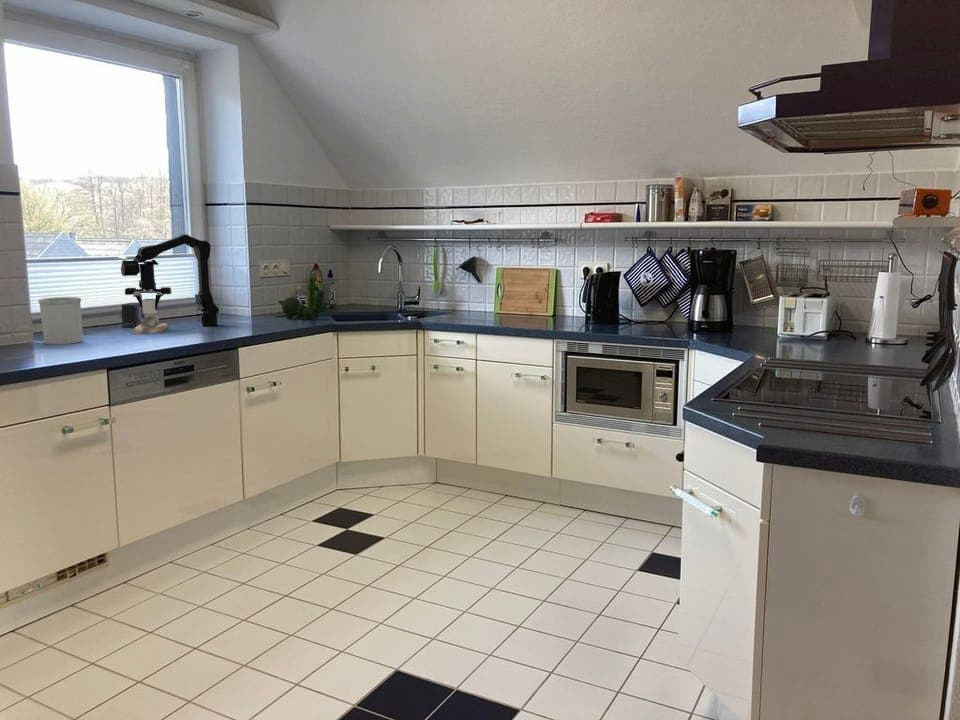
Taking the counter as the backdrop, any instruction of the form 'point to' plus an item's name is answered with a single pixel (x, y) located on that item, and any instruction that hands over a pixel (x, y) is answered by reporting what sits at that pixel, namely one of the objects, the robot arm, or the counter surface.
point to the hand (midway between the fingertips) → (149, 310)
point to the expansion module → (148, 306)
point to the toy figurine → (303, 306)
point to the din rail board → (156, 330)
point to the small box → (132, 315)
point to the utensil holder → (61, 320)
